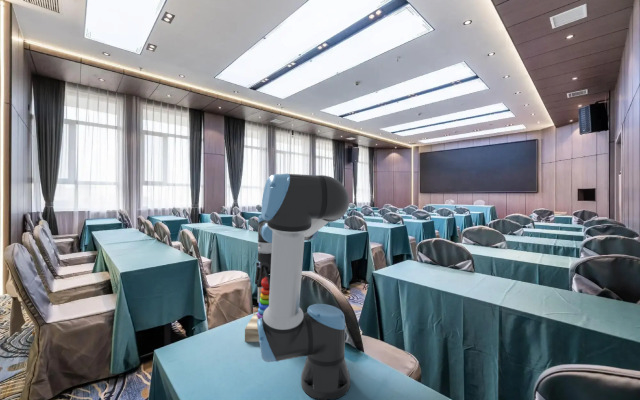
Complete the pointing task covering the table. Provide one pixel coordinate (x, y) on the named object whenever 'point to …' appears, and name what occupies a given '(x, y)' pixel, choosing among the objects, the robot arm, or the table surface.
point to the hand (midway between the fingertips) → (266, 305)
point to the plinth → (252, 330)
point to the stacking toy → (263, 298)
